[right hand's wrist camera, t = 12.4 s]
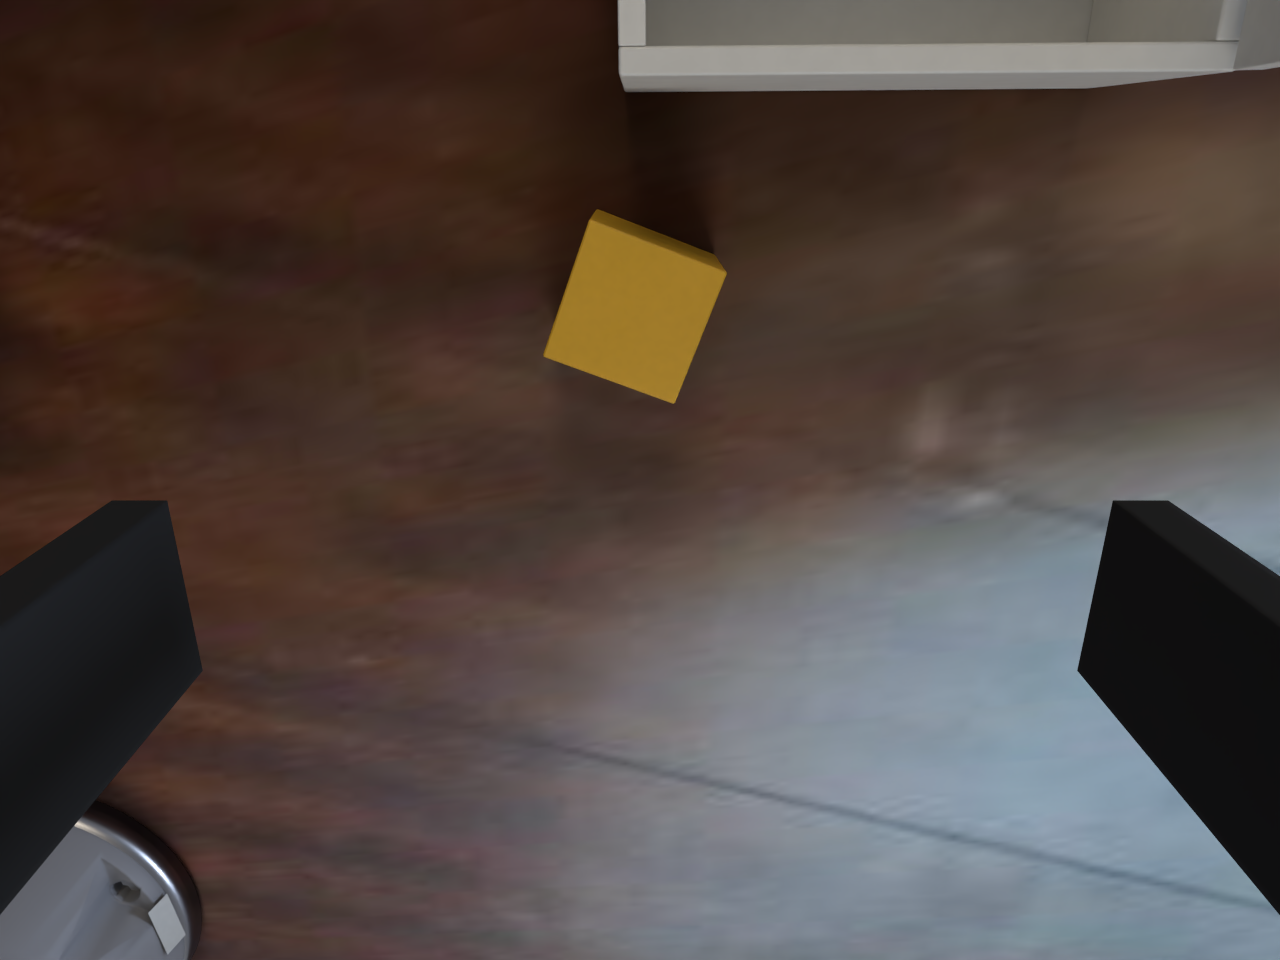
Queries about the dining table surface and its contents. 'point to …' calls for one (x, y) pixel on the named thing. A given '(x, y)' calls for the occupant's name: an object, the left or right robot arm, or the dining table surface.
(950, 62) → the chest
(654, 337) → the block
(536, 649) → the dining table surface
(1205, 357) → the dining table surface
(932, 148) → the dining table surface
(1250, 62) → the lid
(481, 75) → the dining table surface
